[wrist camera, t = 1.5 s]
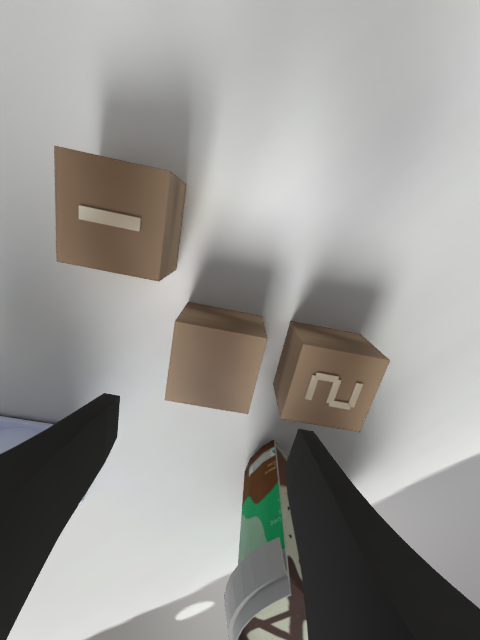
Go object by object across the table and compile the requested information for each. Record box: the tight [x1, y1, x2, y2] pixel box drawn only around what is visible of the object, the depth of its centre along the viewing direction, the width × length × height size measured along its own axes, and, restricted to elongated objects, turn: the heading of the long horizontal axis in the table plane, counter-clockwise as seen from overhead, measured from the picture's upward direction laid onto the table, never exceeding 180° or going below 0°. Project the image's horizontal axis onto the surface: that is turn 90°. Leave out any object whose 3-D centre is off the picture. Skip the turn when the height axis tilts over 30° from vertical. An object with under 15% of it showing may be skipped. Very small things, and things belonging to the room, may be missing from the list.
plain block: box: [165, 302, 267, 414], centre depth 17 cm, size 5×5×4 cm
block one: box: [54, 146, 186, 281], centre depth 14 cm, size 5×5×4 cm
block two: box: [273, 321, 390, 432], centre depth 17 cm, size 5×5×4 cm
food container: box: [224, 440, 308, 640], centre depth 19 cm, size 12×6×10 cm, turn 33°
